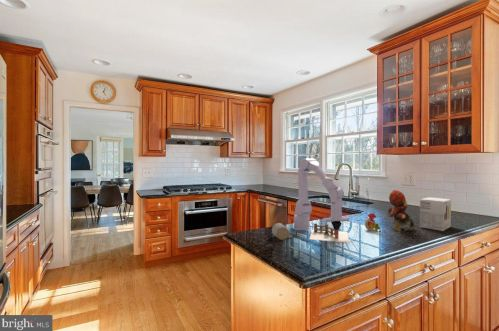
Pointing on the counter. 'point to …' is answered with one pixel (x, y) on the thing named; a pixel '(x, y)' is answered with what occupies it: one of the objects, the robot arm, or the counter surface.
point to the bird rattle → (371, 222)
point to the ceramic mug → (281, 231)
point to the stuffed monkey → (399, 210)
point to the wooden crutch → (334, 231)
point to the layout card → (329, 236)
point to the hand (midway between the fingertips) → (336, 234)
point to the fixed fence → (320, 228)
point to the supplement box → (435, 213)
